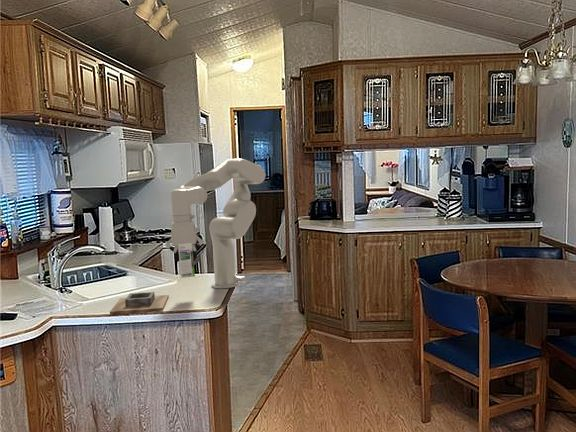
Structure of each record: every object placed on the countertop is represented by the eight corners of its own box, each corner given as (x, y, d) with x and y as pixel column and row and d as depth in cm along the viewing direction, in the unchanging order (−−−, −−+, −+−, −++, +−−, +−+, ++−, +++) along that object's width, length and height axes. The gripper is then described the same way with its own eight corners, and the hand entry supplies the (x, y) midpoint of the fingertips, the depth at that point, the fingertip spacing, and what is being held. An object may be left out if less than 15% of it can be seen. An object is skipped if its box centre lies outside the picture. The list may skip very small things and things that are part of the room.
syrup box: (181, 278, 217) (177, 244, 215) (180, 275, 223) (177, 241, 221) (195, 276, 219) (191, 242, 217) (193, 273, 224) (190, 240, 222)
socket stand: (168, 297, 223) (168, 288, 223) (162, 310, 203) (162, 300, 203) (120, 301, 221) (119, 291, 220) (110, 314, 201) (109, 304, 201)
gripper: (203, 215, 222) (207, 257, 224) (162, 219, 220) (166, 260, 223) (202, 218, 215) (206, 261, 217) (159, 221, 213) (164, 264, 215)
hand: (186, 260), depth 220 cm, fingers closed on syrup box, 6 cm apart
